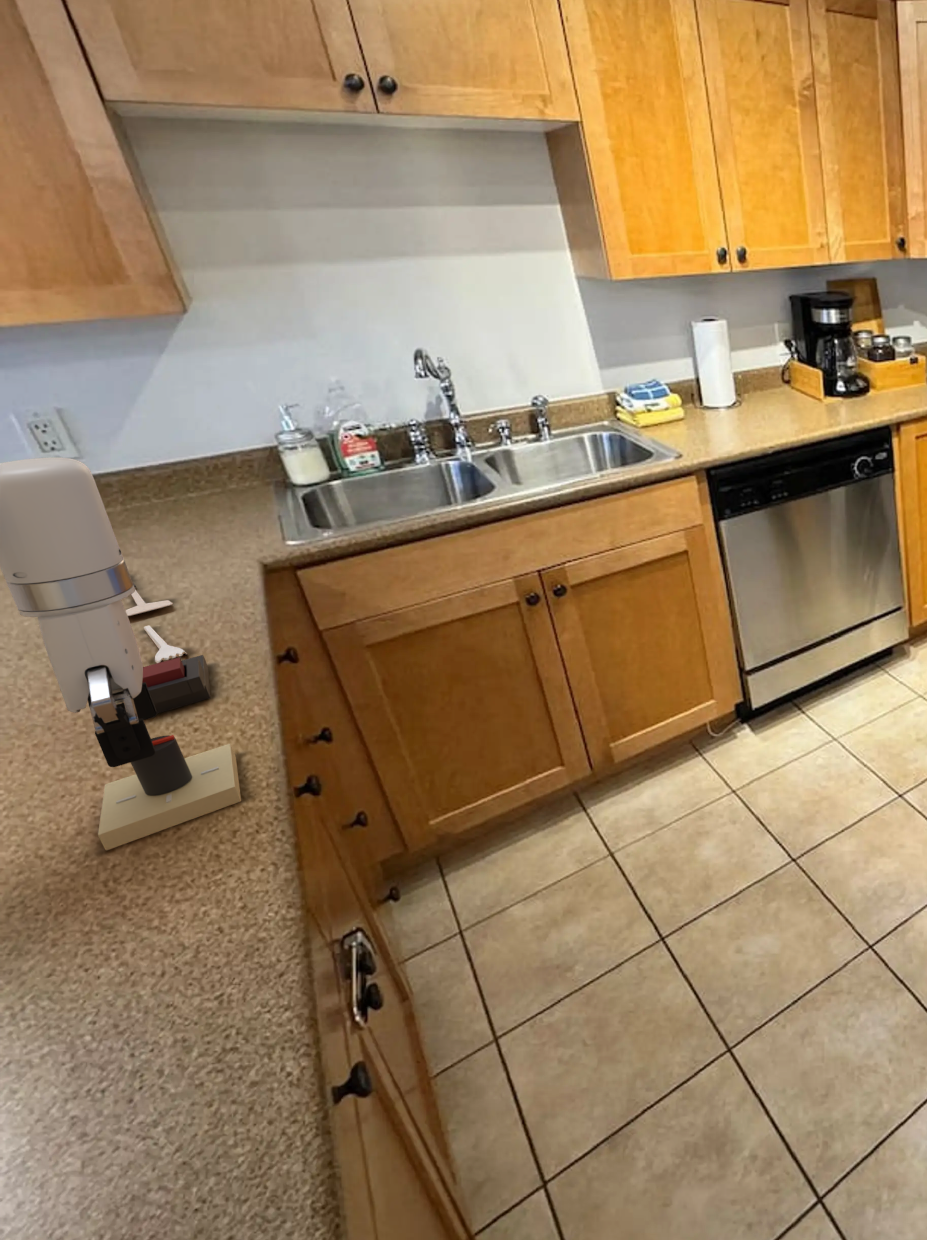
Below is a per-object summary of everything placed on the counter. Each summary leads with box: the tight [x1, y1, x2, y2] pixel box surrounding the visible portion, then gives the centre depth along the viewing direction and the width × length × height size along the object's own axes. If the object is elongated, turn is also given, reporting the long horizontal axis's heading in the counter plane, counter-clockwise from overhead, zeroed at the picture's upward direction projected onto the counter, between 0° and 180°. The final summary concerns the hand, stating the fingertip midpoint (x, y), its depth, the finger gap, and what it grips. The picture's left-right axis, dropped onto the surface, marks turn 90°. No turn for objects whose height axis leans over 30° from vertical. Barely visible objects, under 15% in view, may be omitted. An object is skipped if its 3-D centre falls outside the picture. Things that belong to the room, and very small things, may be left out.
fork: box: [143, 624, 188, 664], centre depth 116 cm, size 3×20×2 cm, turn 54°
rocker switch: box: [148, 654, 211, 715], centre depth 103 cm, size 13×7×4 cm, turn 45°
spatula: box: [125, 582, 174, 617], centre depth 134 cm, size 6×29×2 cm, turn 53°
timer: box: [97, 743, 242, 851], centre depth 82 cm, size 11×10×2 cm
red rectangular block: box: [142, 657, 185, 687], centre depth 100 cm, size 4×4×2 cm
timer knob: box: [130, 734, 192, 796], centre depth 81 cm, size 4×4×5 cm
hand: (135, 739), depth 79 cm, fingers open, 9 cm apart
